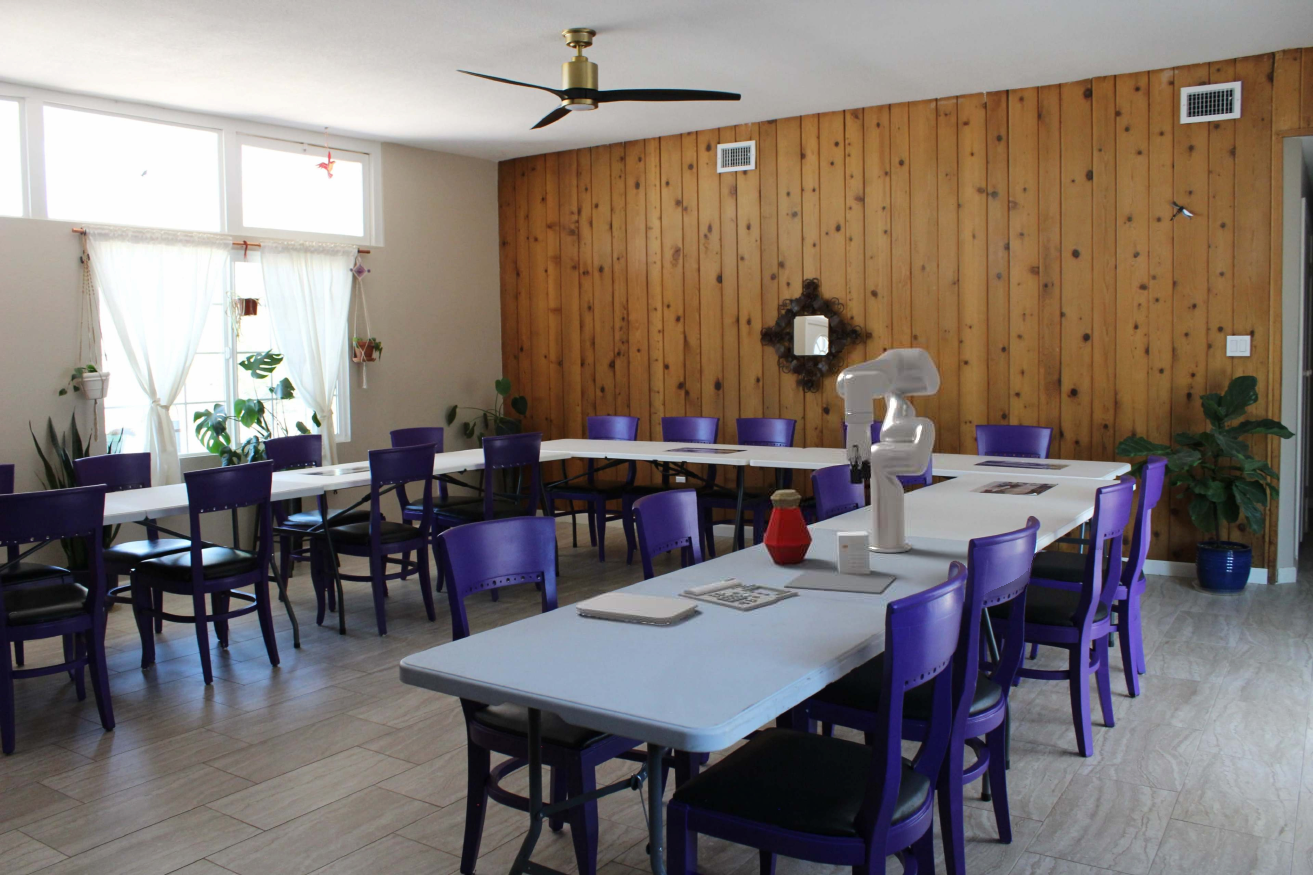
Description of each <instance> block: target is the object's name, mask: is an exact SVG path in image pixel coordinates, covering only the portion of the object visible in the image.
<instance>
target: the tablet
mask: <svg viewBox="0 0 1313 875" xmlns="http://www.w3.org/2000/svg"><path fill="white" fill-rule="evenodd" d="M698 607H699V602H697V601H695V600H691V599H688V600H687V599H680V598H671V597H662V596H654V595H645V594H637V593H636V594H635V593H634V594H633V593H624V592H607V593H603V594H600V595H598V596H596V597H593V598H590V599H588V600H585V601H582V602H580V603H577V604H576V605H575V608H576V610H577V611H579V612H578V614H579V613H580V614H584V615H590V616H589V617H591V616H597V617H596V618H598V617H602V618H601V619H606V618H610V619H609V620H614V619H619V620H618V621H622V620H628V621H627V622H630V621H636V622H635V623H638V622H646V623H654V624H667V623H671V624H673V623H675V622H674V621H676V620H678V619H680V620H682V619H683V617H684V618H686V617H688V616H690V615H692V614H694V613H695V612H696V609H697V608H698ZM580 614H579V615H580ZM687 615H688V616H687ZM685 616H686V617H685ZM681 618H682V619H681ZM678 621H679V620H678ZM672 622H673V623H672ZM676 622H677V621H676ZM646 623H645V624H646ZM667 625H668V624H667Z"/></svg>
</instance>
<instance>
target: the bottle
mask: <svg viewBox="0 0 1313 875" xmlns="http://www.w3.org/2000/svg"><path fill="white" fill-rule="evenodd" d="M801 499H802V496H801V495H800V494H799V493H798V492H797V491H796V490H795V489H781V490H780V489H779V490H776V491H775V492H774V493H773V494H772V495H771V496H770V500H771V503H772V505H773V508H772V513H771V514H770V519H769V522H768V525H767V529H766V531H765V535H764V539H763V541H762V542H763V544H764V546H765V548H766V549H767V552H768V554H769V556H770V558H771V559H772V561H773V563H774V564H776V565H777V564H778V565H787V566H788V565H796V564H800V563H802V562H803V561H804V560H805V558H806V555H807V553H808V550H809V548H810V546H811V544H812V542H813V537H812V536H811V533H810V530H809V528H808V526H807V524H806V521H805V519H804V517H803V514H802V511H801V509H800V507H799V505H800V502H801Z"/></svg>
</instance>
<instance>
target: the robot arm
mask: <svg viewBox="0 0 1313 875" xmlns="http://www.w3.org/2000/svg"><path fill="white" fill-rule="evenodd" d="M835 384H836V392H837V394H838V396H840V398H843V399H844V422H845V423H844V424H845V425H846V426H847V427H846V428H847V429H846V451H845V452H846V454H845V456H846V458H845V459H846V461H847V462H849V476H850V477H849V478H850V484H851V485H862V484H863V483H864V482H863V481H864V480H870V482H869V483H870V510H871V511H870V512H871V513H870V516H871V523H870V524H871V542H869V552H876V553H886V554H887V553H888V554H889V553H890V554H892V553H904V552H907V551H910V550H911V544H909V543H907V542H906V531H905V530H906V529H905V491H904V490H905V489H904V488H903V487H904V486H903V485H902V483H901V482H900V480H899V479H898V478H897V476H920V475H923V474H924V473H925V472H926V471H927V469H928V465H929V463H930V459H931V455H932V452H933V448H934V445H935V440H936V428H935V424H934V422H933V421H932V420H931V419H929V418H928V417H919V416H918V417H917V416H916V409H915V407H914V406H913V405H912V404H911V402H910V401H909V400H908V399H907V398H905V397H904V396H931V395H934V394H936V393H937V392H938V391H939V388H940V385H941V379H940V373H939V371H938V369H937V367H936V365H935V364H934V361H933V360H932V358H931V356H930V354H929V352H927V351H926V350H924V349H923V348H920V347H919V348H917V347H914V348H894V349H893V348H892V349H889V350H886V351H885V352H884V353H883V354H881V355H880V356H878V357H877V358H875V359H872V360H869V361H865V362H862V363H859V364H854V365H851V366H849V367H847V368H845V369H844V370H842V371H841V373H839V375H838V377H837V380H836V383H835ZM883 397H884V401H885V406H886V413H885V417H884V419H883V423H882V425H881V428H880V433H879V440H880V441H879V442H876V443H874V444H872V433H871V432H872V430H871V425H873V424H874V401H873V400H874V399H881V398H883Z"/></svg>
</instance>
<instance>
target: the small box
mask: <svg viewBox="0 0 1313 875" xmlns="http://www.w3.org/2000/svg"><path fill="white" fill-rule="evenodd" d="M869 538H870V537H869V534H868V532H867V531H865V530H863V531H862V530H861V531H837V532H836V553H837V571H838V573H847V574H863V575H871V570H870V569H871V568H870V566H871V565H870V564H871V563H870V550H869V543H870V539H869Z"/></svg>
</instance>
